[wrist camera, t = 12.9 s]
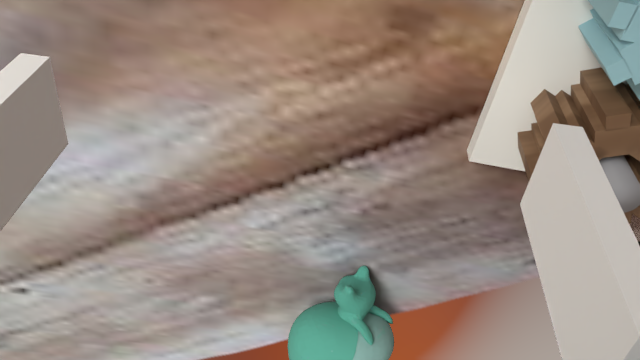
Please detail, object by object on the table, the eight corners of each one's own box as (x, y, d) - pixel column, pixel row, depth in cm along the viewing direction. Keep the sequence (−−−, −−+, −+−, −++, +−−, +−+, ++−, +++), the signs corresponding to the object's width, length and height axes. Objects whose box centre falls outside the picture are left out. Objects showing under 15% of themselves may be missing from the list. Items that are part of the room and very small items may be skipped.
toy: (417, 268, 55) (397, 398, 60) (323, 241, 59) (311, 364, 64) (380, 315, 47) (360, 462, 52) (273, 280, 51) (263, 419, 56)
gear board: (565, -106, 35) (614, -62, 27) (806, -59, 35) (920, -2, 28) (466, 150, 46) (482, 230, 39) (648, 183, 47) (698, 269, 39)
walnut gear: (515, 81, 41) (531, 127, 36) (671, 56, 39) (711, 101, 34) (519, 191, 47) (535, 243, 42) (656, 174, 44) (688, 227, 40)
